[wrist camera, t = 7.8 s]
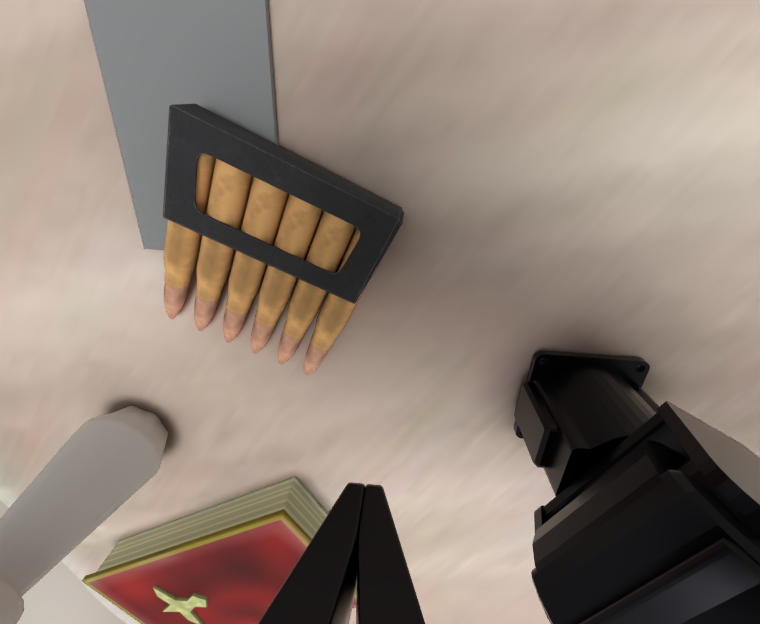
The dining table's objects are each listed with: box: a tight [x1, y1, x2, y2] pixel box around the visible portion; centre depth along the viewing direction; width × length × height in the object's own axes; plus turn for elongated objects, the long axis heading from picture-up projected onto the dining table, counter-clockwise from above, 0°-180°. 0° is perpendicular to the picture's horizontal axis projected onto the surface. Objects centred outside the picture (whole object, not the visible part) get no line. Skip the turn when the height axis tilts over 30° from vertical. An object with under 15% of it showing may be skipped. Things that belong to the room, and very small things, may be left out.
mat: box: [84, 0, 283, 254], centre depth 17 cm, size 8×12×1 cm, turn 178°
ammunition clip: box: [163, 104, 404, 375], centre depth 19 cm, size 11×2×12 cm
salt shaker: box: [0, 406, 168, 624], centre depth 20 cm, size 6×6×13 cm
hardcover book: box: [82, 477, 357, 624], centre depth 30 cm, size 12×21×4 cm, turn 119°
